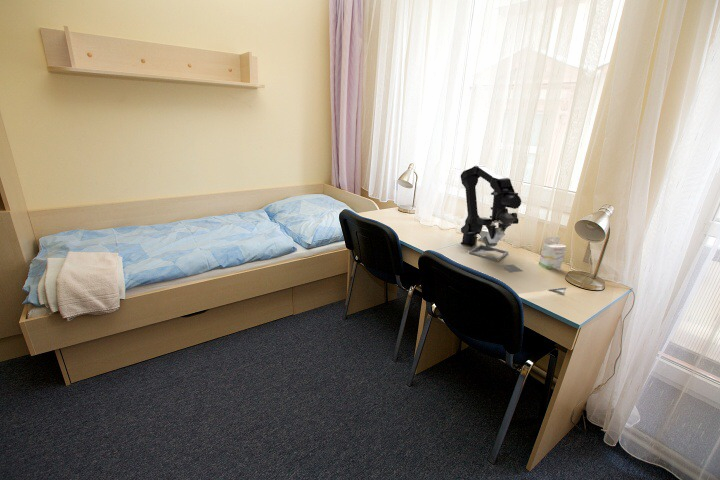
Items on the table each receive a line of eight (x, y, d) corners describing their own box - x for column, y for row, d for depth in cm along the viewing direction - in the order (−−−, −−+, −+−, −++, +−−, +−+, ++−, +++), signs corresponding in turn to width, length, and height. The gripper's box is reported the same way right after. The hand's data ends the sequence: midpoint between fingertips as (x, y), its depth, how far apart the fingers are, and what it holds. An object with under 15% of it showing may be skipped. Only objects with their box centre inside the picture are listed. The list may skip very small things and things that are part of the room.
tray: (468, 256, 164) (469, 251, 163) (479, 248, 174) (480, 244, 173) (497, 264, 156) (498, 259, 155) (507, 256, 166) (508, 251, 165)
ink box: (545, 271, 150) (553, 240, 145) (537, 267, 155) (544, 237, 149) (561, 270, 152) (569, 239, 147) (552, 265, 157) (560, 236, 152)
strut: (482, 238, 164) (493, 227, 156) (491, 237, 165) (502, 226, 157) (486, 247, 162) (497, 235, 153) (495, 246, 163) (506, 235, 155)
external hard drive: (539, 289, 136) (546, 278, 145) (562, 296, 131) (568, 285, 140) (540, 285, 135) (547, 275, 144) (563, 292, 130) (569, 281, 139)
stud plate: (498, 268, 151) (499, 265, 151) (512, 267, 153) (512, 264, 153) (509, 275, 145) (509, 272, 145) (522, 274, 147) (523, 271, 146)
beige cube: (491, 239, 189) (493, 229, 186) (487, 242, 184) (489, 231, 182) (480, 236, 192) (482, 226, 190) (476, 239, 187) (478, 229, 185)
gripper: (493, 209, 145) (489, 244, 148) (529, 207, 149) (524, 241, 153) (477, 205, 155) (474, 238, 159) (511, 204, 160) (508, 236, 164)
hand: (495, 238), depth 158 cm, fingers closed on strut, 4 cm apart
